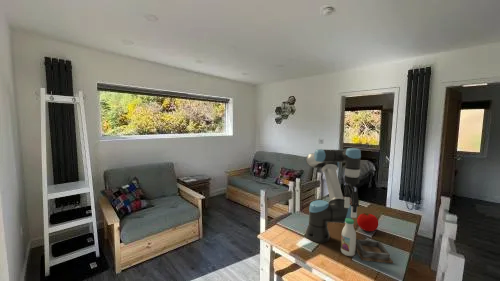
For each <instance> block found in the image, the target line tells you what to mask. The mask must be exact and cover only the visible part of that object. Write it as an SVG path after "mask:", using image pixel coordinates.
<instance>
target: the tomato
mask: <svg viewBox="0 0 500 281" xmlns="http://www.w3.org/2000/svg"><path fill="white" fill-rule="evenodd" d="M357 216H358V217H357V218H356V223H357V225H358V227H359V228H360V229H362V230H364V231H365V232H373V231H375V230H377V229H378V227H379V219H378V218H377V217H376V216H375V215H374V214H371V213H367V212H362V213H359V215H357Z"/></svg>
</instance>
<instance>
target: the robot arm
mask: <svg viewBox="0 0 500 281" xmlns="http://www.w3.org/2000/svg"><path fill="white" fill-rule="evenodd" d="M361 152H362V151H361V149H360V148H354V147H349V148H343V149H342V148H341V149H322V148H321V149H316V150H315V151H314V153H310V154H309V153H308V154H307V155H306V157H305V162H306V164H307V166H309V167H311V168H314V169H321V171H322V173H323V174H324V178H325V182H326V186H327V192H328V196H329V201H326V200H322V199H316V200H313V201H311V202H310V204H309V208H308V211H309V212H308V214H309V215H308V225H307V227H306V230H305V236H306V238H307V239H308V240H310V241H312V242H315V243H319V244H320V243H322V244H323V243H328V242H329V240H330V236H331V235H330V234H331V233H330V231H329V228H328V224H329V223H335V224H345V219H346V218H350V219H357V218H358V217H357V216H358V208H359V207H360V204H359V203H360V202H359V193H358V192H359V190H358V188H359V187H357V186H356V185H359V184H360V174H361V172H362V171H361V158H362V153H361ZM340 163H345V165H344V166H345V167H344V183H345V185H344V190H343V191H344V192H342V189H341V184H340V180H339V177H338V173H337V171H338V168H339V166H340ZM350 203H351V204H350Z"/></svg>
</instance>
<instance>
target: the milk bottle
mask: <svg viewBox="0 0 500 281" xmlns="http://www.w3.org/2000/svg"><path fill="white" fill-rule="evenodd" d="M354 224H355V220H354V218H352V219H350V218H346V219H345V223H344V226H343V228H342V230H341V235H340V237H341V238H340V252H341V254H343V255H345V256H348V257H354V256H355V255H356V249H355V248H356V239H357V233H356V230H355V227H354Z"/></svg>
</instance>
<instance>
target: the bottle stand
mask: <svg viewBox="0 0 500 281" xmlns="http://www.w3.org/2000/svg"><path fill="white" fill-rule="evenodd" d="M355 252H356V253H357V255H358V257H359V259H360V260H361V261H366V262H374V261H375V263H376V262H377V263H383V262H385V263H384V264H392V263H393V264H394V261H393V259H392V258H391V257H390V253H389V252H388V251H387V249H386V248H385V246H383V244H382V243H381V241H379V240H369V239H359V238H356V248H355Z"/></svg>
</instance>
